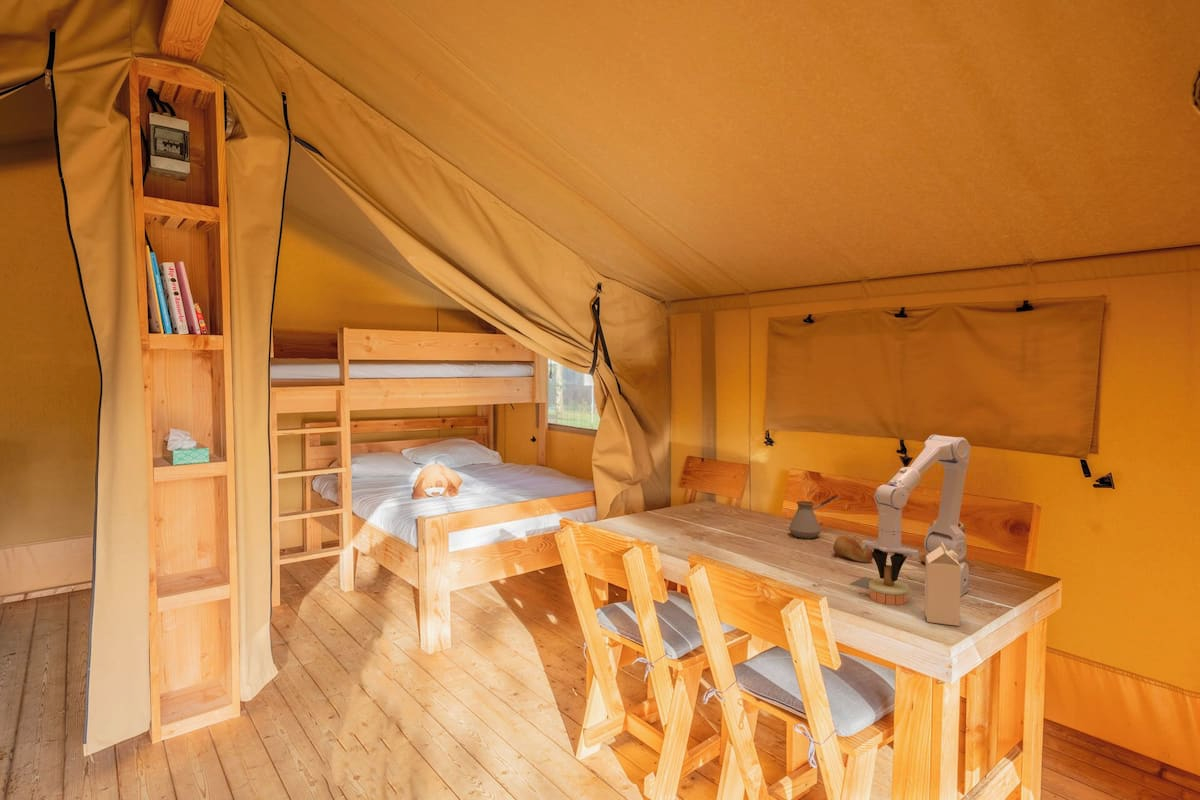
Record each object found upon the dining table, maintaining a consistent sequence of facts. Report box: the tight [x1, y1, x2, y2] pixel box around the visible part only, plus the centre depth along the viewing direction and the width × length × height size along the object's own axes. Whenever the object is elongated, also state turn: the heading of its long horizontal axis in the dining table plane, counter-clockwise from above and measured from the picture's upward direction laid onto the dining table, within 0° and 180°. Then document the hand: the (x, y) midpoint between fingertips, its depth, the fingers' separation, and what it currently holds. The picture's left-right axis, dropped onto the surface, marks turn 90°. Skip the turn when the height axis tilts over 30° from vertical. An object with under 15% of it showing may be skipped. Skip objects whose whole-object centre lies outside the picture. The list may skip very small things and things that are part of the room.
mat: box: [849, 576, 874, 590], centre depth 191 cm, size 10×10×1 cm
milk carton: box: [923, 542, 961, 627], centre depth 165 cm, size 7×7×19 cm
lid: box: [869, 564, 910, 595], centre depth 179 cm, size 10×10×6 cm
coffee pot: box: [788, 494, 841, 540], centre depth 249 cm, size 21×12×15 cm, turn 110°
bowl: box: [869, 589, 908, 606], centre depth 179 cm, size 9×9×3 cm
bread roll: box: [832, 534, 874, 564], centre depth 218 cm, size 10×15×8 cm, turn 23°
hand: (888, 579), depth 178 cm, fingers closed on lid, 3 cm apart
